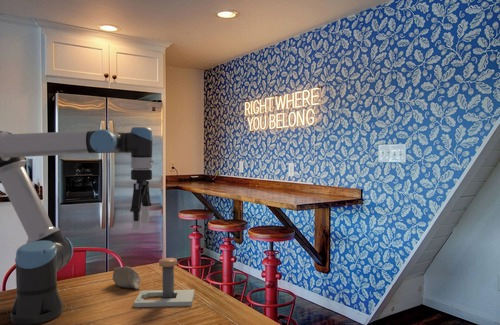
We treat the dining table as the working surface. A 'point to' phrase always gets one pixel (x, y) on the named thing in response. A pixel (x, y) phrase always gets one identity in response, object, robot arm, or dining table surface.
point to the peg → (168, 276)
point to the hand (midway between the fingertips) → (141, 226)
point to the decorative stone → (126, 277)
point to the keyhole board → (181, 299)
